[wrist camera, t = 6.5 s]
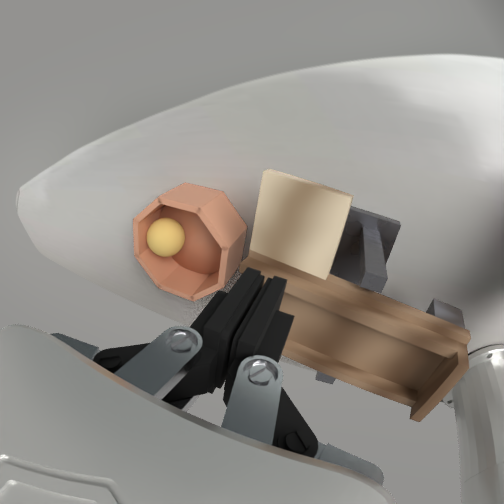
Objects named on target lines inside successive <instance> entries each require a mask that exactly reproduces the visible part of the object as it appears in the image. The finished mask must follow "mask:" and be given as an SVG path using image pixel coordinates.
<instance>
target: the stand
mask: <svg viewBox="0 0 504 504" xmlns="http://www.w3.org/2000/svg"><path fill="white" fill-rule="evenodd" d="M400 226H401V225H400V222H399V221H396V220H393V219H390V218H387V217H384V216H381V215H378V214H375V213H372V212H369V211H365V210H362V209H359V208H356V207H352V206H351V207H350V210H349V213H348V217H347V220H346V223H345V226H344V230H343V233H342V236H341V239H340V242H339V245H338V248H337V251H336V254H335V257H334V260H333V263H332V266H331V269H330V272H329V274H331V275H334V276H336V277H339V278H341V279H344V280H346V281H349V282H351V283H354V284H356V285H359V286H360V287H363V288H366V289H369V290H371V291H376V292H379V293H381V292H382V290H383V288H384V286H385V283H386V281H387V279H388V278H387V271H386V262H387V260H388V257H389V255H390V252H391V250H392V247H393V245H394V242H395V240H396V237H397V234H398V232H399V229H400ZM335 379H336V378H334V377H331V376H329V375H327V374H324V373H322V372H320V371H317V375H316V380H318V381H322V382H326V383H330V384H333V382H334V381H335Z"/></svg>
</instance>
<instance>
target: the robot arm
mask: <svg viewBox="0 0 504 504" xmlns="http://www.w3.org/2000/svg"><path fill="white" fill-rule="evenodd" d="M264 278H265V276H263V275H261V271H259V270H256V269H253V268H250V267H247V268H246V270H245V271H244V273H243V274H242V275H241V277H240V278H239V279H238V281H237V282H236V284H235V285H234V286H233V288H232V289H231V290H230V292H229V293H226V292H223V291H218V292H217V293H216V294H215V296H214V297H213V298H212V299H211V301H210V302H209V303H208V305H207V306H206V307H205V308H204V310H203V311H202V312H201V313H200V315H199V316H198V317H197V319H196V320H195V321H194V322H193V324H192V325H191V326H190V327H186V326H175V327H171V328H169V329H167V330H166V331H164V332H163V333H162V334H161V335H159V337H157V338H156V339H155V340H153V341H152V342H151V343H146V344H140V345H133V346H126V347H118V348H110V349H105V350H102V351H100V350H99V347H96V346H94V345H90V344H87V343H85V342H82V341H79V340H77V339H74V338H71V337H68V336H66V335H63V334H59V333H53V334H48V333H46V332H44V331H42V330H39V329H36V328H33V327H29V326H25V325H9V326H7V327H5V328H3V329H1V330H0V504H397V503H396V501H395V499H394V497H393V496H392V495H391V493H390V492H389V491H388V490H386V489H385V488H384V487H383V486H382V485H383V481H384V475H383V472H382V470H381V469H380V468H379V467H378V466H377V465H375V464H373V463H371V462H369V461H366V460H364V459H361V458H359V457H357V456H355V455H352V454H350V453H348V452H346V451H343V450H341V449H339V448H337V447H335V446H333V445H331V444H329V443H328V444H327V445H325V444H323V443H321V442H318V440H317V438H316V436H315V435H314V433H313V432H312V430H311V429H310V427H309V426H308V424H307V423H306V422H305V420H304V419H303V417H302V416H301V414H300V413H299V411H298V410H297V408H296V407H295V406H294V404H293V403H292V401H291V400H290V398H289V397H288V395H287V394H286V392H285V391H284V389H283V388H282V380H283V371H282V369H281V367H280V365H279V364H278V362H279V359H280V357H281V354H282V351H283V349H284V346H285V343H286V340H287V338H288V335H289V332H290V329H291V326H292V323H293V320H294V317H295V316H294V315H291V314H287V313H284V312H281V311H279V309H280V305H281V302H282V298H283V295H284V291H285V288H286V284H287V279H284V278H281V277H278V276H274V277H273V279H272V278H269V277H268V278H267V280H266V282H265V284H264V285H263V283H264ZM468 360H469V369H468V370H467V372H466V373H465V374H464V375H463V376H462V378H461V379H460V380H459V381H458V382H457V383H456V385H455V386H454V387H453V388H452V389H451V390H450V391H449V392H448V394H447V395H446V396H445V397H444V398H443V402H444V403H445V404H446V405H447V406H449V407H451V408H454V409H455V416H456V424H457V433H458V444H459V458H460V482H461V502H462V504H504V345H494V346H489V347H486V348H482V349H480V350H478V351H476V352H474V353H472V354H470V355H468ZM225 380H226V381H225ZM224 382H225V387H224V390H225V391H224V397H223V401H224V403H225V405H226V407H227V409H226V412H225V415H224V419H223V422H222V425H221V427H220V426H217V425H215V424H212V423H210V422H207V421H205V420H203V419H200V418H198V417H196V416H193V415H191V414H189V413H187V411H188V410H189V408H190V407H191V406H192V405H193V404H194V403H195V401H196V400H197V399H198V397H199V395H201V394H205V393H207V392H209V393H211V394H212V393H213V392H214V390H215V388H216V387H217V388H221V387H222V385H223V384H224Z"/></svg>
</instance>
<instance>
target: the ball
mask: <svg viewBox="0 0 504 504" xmlns="http://www.w3.org/2000/svg"><path fill="white" fill-rule="evenodd" d="M184 242H185V232H184V229H183V227H182V226H181V224H180V223H179V222H177V221H176V220H174V219H172V218H160V219H158V220H156V221H154V222H153V223H152V224H151V225H150V227H149V229H148V231H147V243H148V246H149V248H150V249H151V250H152V251H153V252H154V253H155V254H157V255H159V256H162V257H169V256H173V255H175V254H176V253H178V252H179V251H180V250H181V248H182V247H183V245H184Z"/></svg>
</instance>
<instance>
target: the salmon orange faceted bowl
mask: <svg viewBox="0 0 504 504" xmlns="http://www.w3.org/2000/svg"><path fill="white" fill-rule="evenodd" d="M160 218H172V219H174V220H176V221H177V222H179V223H180V224H181V226H182V227H183V229H184V232H185V242H184V245H183V247H182V248H181V250H180V251H179V252H178V253H176V254H175V255H173V256H169V257H162V256H159V255H157V254H155V253H154V252H153V251H152V250H151V249H150V248H149V246H148V243H147V231H148V229H149V227H150V225H151V224H152V223H153V222H154V221H156V220H158V219H160ZM246 231H247V226H246V224H245V223H244V221H243V220H242V218H241V217H240V215H239V214H238V212H237V211H236V210H235V208H234V207H233V205H232V204H231V202H230V201H229V199H228V198H227V196H226V195H225V194H224V192H223V191H219V190H215V189H211V188H206V187H202V186H198V185H194V184H189V183H183V184H182V185H180V186H178V187H176V188H174V189H172V190H170V191H168V192H166V193H164V194H162V195H161V196H159V197H158V198H157V199H155V200H154V201H153V202H152V203H151V204H150V205H149V206H147V207H146V208H145V209H144V210H143V211H142V212H141V213H140V214H138V215H137V216H136V217H135V218H134V219H133V234H134V256H135V257H136V259H137V260H138V262H139V263H140V264H141V266H142V267H143V268H144V270H145V271H146V272H147V274H148V275H149V276H150V278H151V279H152V280H153V282H154V283H155V284H156V286H157V287H158V288H159V289H162V290H164V291H167V292H170V293H172V294H175V295H177V296H180V297H183V298H185V299H188V300H191V301H193V302H194V301H196V300H198V299H200V298H202V297H204V296H206V295H209V294H211V293H213V292H215V291H217V290H219V289H221V288H224V286H225V285H226V284H227V282H228V281H229V279H230V278H231V277H232V275H233V274H234V272H235V271H236V269H237V268H238V267H239V265H240V263H241V261H242V255H243V249H244V243H245V237H246Z"/></svg>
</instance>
